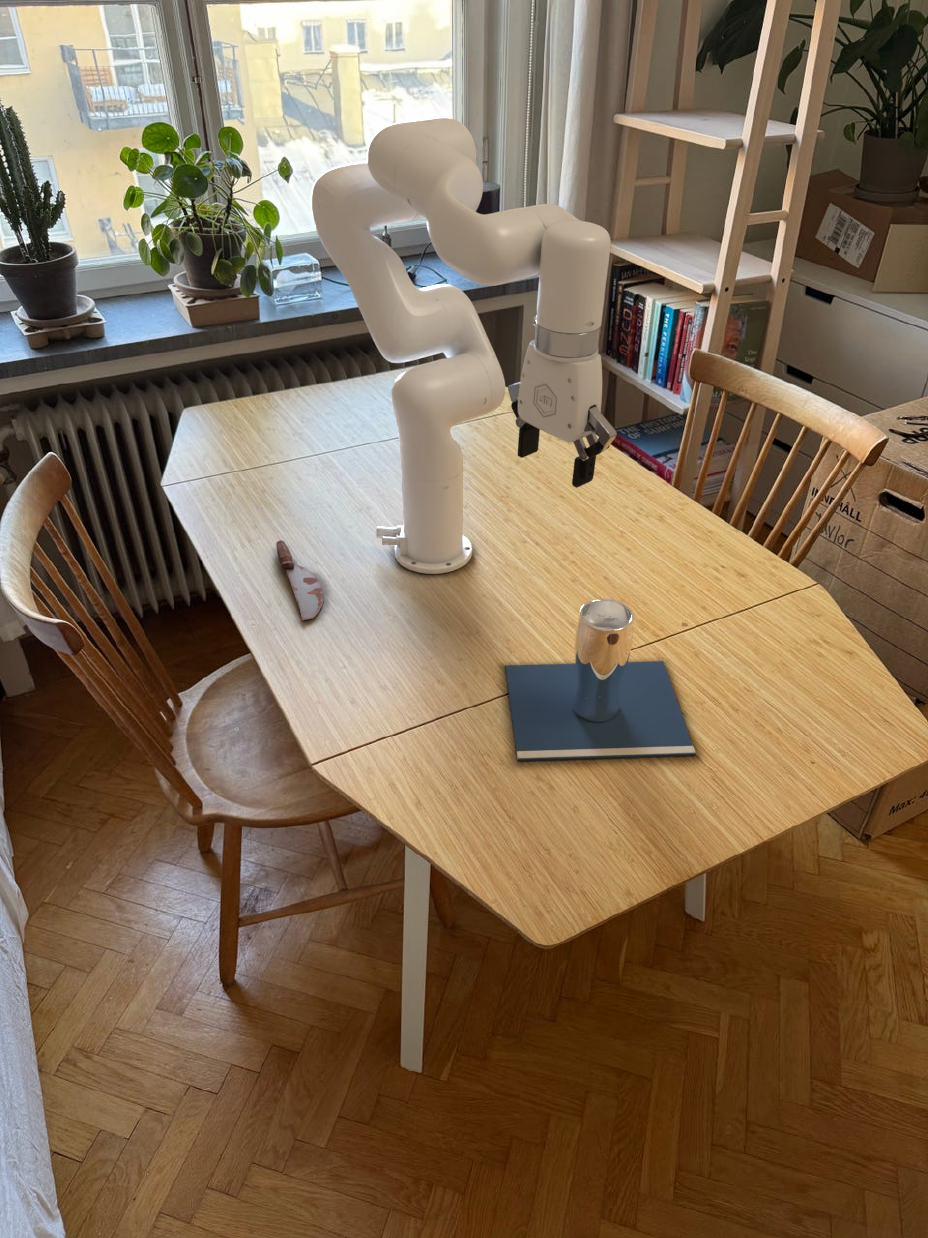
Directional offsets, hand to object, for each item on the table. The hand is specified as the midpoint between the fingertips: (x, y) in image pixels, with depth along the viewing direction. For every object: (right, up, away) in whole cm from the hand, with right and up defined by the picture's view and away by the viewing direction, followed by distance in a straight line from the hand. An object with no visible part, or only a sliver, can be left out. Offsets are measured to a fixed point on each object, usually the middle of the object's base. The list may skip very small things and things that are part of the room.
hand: (554, 468), depth 117 cm
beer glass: (+6, -31, +3) cm, 31 cm away
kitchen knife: (-37, -13, +26) cm, 47 cm away
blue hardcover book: (+6, -31, +3) cm, 32 cm away
